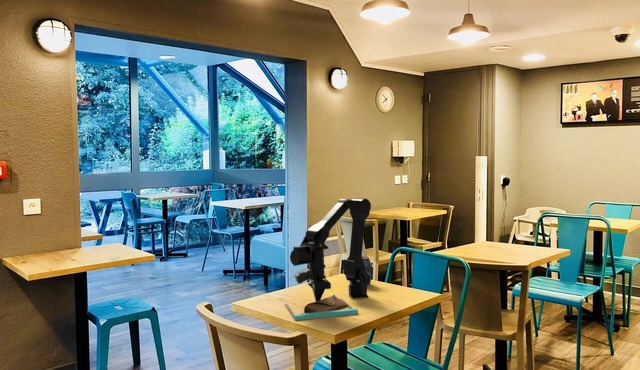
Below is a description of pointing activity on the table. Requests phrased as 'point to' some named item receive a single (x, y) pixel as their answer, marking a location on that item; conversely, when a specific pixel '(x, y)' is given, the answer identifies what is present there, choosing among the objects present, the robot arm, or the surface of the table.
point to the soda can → (367, 268)
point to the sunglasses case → (325, 305)
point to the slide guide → (323, 313)
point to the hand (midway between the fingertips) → (317, 302)
